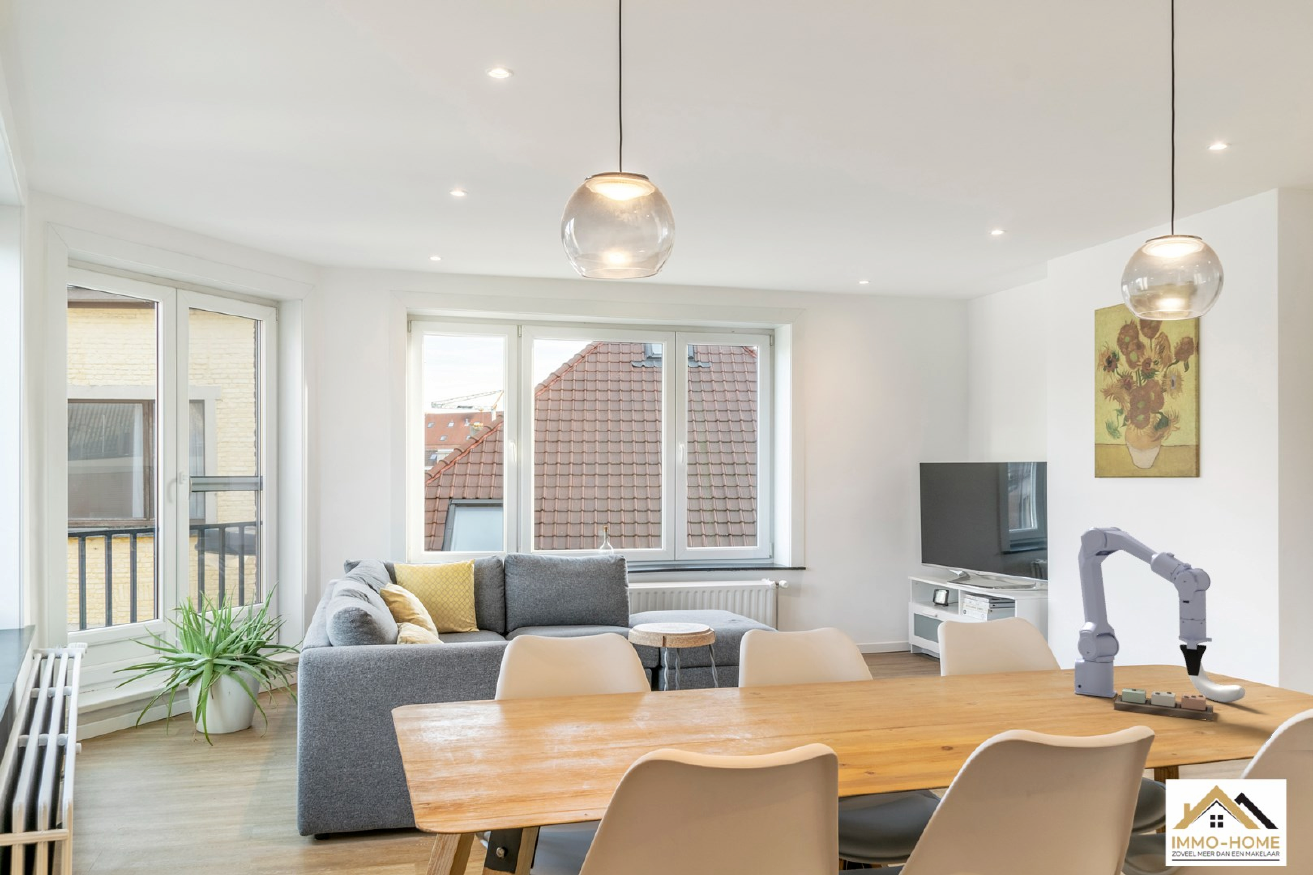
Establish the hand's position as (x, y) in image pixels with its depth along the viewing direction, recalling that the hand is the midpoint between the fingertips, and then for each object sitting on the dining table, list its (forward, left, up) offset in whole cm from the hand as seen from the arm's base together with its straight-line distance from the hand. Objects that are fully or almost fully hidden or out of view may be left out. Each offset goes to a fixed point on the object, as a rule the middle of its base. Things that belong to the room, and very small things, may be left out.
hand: (1193, 675), depth 237 cm
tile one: (-13, 0, -8) cm, 15 cm away
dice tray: (-7, 0, -9) cm, 11 cm away
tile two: (-7, 0, -8) cm, 10 cm away
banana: (+4, +20, -10) cm, 23 cm away
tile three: (0, 0, -8) cm, 8 cm away
